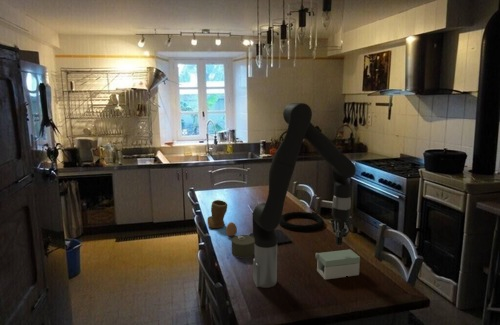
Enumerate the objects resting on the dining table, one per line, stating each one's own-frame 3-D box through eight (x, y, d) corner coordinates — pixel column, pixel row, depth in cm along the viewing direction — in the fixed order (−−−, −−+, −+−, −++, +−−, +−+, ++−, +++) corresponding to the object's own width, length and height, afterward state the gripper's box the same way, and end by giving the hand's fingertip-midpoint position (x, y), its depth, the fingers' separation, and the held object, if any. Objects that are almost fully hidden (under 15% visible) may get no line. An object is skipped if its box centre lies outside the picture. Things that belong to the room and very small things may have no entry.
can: (236, 259, 167) (236, 246, 166) (227, 250, 178) (227, 237, 176) (259, 255, 172) (259, 242, 171) (249, 245, 183) (249, 233, 181)
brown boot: (228, 229, 206) (227, 204, 203) (207, 229, 204) (207, 205, 201) (226, 220, 220) (226, 197, 218) (207, 220, 219) (206, 197, 216)
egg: (225, 238, 192) (225, 224, 191) (226, 234, 198) (226, 220, 197) (236, 238, 192) (236, 224, 191) (237, 234, 198) (237, 220, 197)
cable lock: (269, 218, 214) (298, 207, 235) (269, 224, 214) (297, 212, 236) (307, 229, 195) (335, 216, 217) (307, 236, 196) (334, 222, 217)
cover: (323, 267, 148) (323, 261, 147) (314, 257, 156) (314, 252, 156) (359, 262, 152) (360, 257, 151) (349, 253, 160) (349, 248, 160)
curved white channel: (325, 279, 149) (325, 267, 148) (316, 270, 156) (317, 259, 155) (358, 274, 153) (359, 263, 152) (349, 266, 160) (350, 255, 159)
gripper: (326, 202, 156) (324, 239, 159) (341, 211, 144) (338, 251, 147) (341, 201, 158) (338, 237, 161) (357, 210, 146) (354, 249, 149)
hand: (338, 244), depth 154 cm, fingers closed
